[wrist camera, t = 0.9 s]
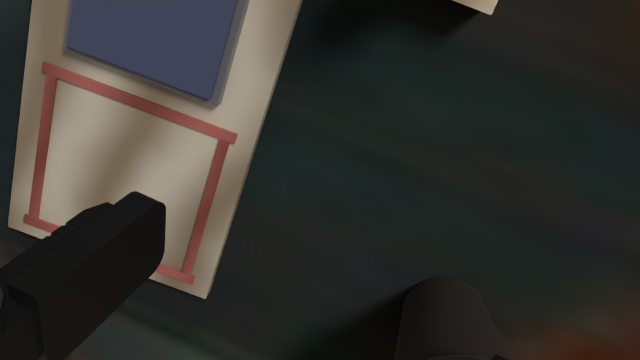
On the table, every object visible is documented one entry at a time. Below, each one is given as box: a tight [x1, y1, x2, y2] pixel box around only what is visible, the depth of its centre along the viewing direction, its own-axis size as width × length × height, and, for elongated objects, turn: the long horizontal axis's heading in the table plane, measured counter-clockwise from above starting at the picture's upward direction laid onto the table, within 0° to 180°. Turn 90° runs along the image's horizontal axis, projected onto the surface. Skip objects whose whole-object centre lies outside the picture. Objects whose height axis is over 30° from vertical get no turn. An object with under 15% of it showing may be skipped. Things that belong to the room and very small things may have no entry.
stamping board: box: [8, 0, 303, 299], centre depth 31 cm, size 14×24×1 cm, turn 161°
